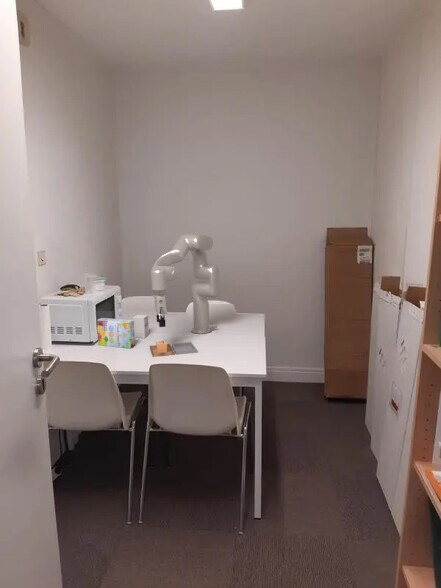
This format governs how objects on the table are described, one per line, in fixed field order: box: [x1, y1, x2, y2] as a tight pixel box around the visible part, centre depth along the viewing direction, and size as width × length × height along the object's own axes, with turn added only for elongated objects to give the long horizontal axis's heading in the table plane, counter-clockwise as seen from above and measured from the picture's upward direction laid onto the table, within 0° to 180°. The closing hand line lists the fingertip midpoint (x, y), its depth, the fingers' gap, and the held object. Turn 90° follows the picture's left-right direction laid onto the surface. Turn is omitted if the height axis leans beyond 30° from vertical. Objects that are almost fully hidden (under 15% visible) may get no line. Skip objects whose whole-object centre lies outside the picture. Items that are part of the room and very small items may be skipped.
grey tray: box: [171, 341, 198, 356], centre depth 240 cm, size 11×14×2 cm
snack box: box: [96, 317, 136, 349], centre depth 250 cm, size 21×6×15 cm, turn 71°
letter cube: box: [155, 340, 168, 353], centre depth 237 cm, size 5×5×5 cm
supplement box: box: [132, 314, 150, 339], centre depth 267 cm, size 7×7×13 cm
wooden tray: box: [149, 343, 175, 358], centre depth 237 cm, size 11×14×2 cm
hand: (161, 324), depth 235 cm, fingers open, 9 cm apart
